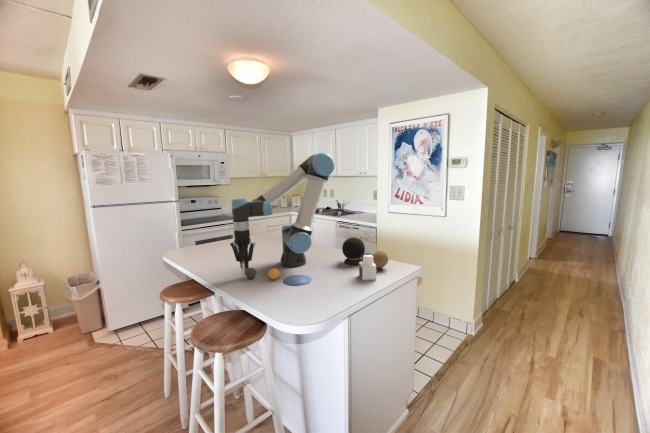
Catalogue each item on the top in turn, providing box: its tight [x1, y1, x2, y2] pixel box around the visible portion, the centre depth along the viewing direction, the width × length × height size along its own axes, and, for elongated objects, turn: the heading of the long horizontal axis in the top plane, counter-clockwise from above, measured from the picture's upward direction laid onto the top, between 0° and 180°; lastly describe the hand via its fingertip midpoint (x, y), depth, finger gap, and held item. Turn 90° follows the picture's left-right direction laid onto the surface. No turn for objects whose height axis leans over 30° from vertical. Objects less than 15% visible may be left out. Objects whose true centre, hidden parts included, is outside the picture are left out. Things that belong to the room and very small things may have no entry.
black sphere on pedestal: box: [341, 236, 366, 267], centre depth 166 cm, size 13×13×15 cm
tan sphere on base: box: [373, 250, 389, 269], centre depth 154 cm, size 9×9×10 cm
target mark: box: [282, 274, 312, 287], centre depth 141 cm, size 14×14×1 cm
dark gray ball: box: [245, 266, 257, 279], centre depth 145 cm, size 6×6×6 cm
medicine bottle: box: [358, 252, 377, 281], centre depth 142 cm, size 7×7×12 cm
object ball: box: [268, 268, 281, 280], centre depth 143 cm, size 6×6×6 cm
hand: (245, 274), depth 147 cm, fingers closed
